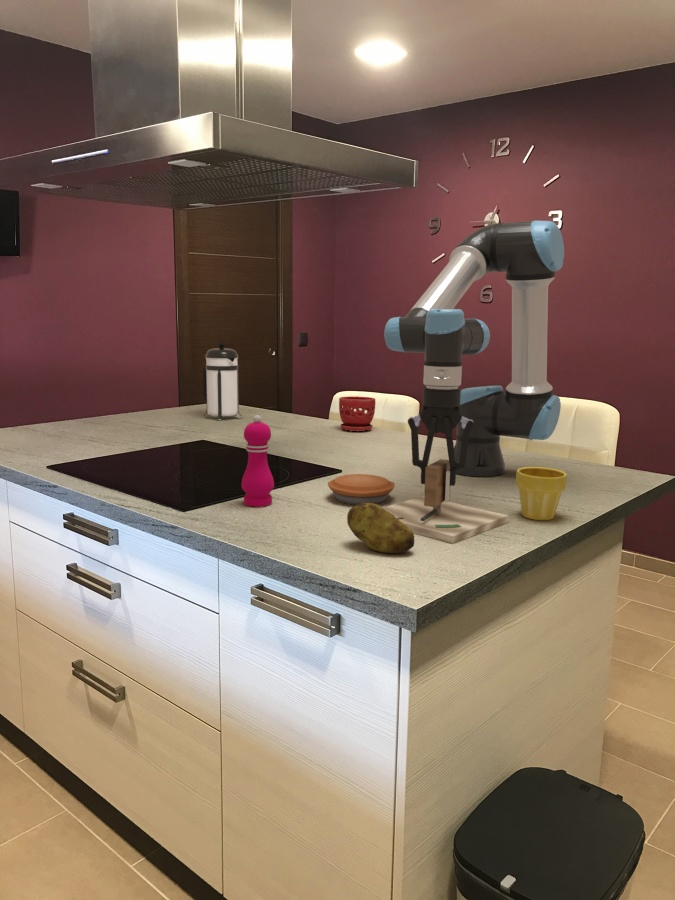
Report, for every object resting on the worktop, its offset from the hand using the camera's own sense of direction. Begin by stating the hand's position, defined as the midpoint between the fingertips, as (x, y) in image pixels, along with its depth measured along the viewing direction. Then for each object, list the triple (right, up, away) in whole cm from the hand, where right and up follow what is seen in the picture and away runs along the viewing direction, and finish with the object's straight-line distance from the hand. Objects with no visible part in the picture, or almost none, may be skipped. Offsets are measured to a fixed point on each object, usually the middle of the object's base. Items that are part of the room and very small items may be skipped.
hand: (437, 499), depth 150 cm
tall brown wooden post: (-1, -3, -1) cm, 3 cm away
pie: (-15, -1, +18) cm, 24 cm away
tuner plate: (0, -4, +1) cm, 5 cm away
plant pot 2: (+22, -4, +6) cm, 23 cm away
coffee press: (-67, +23, +138) cm, 155 cm away
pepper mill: (-39, -2, +13) cm, 41 cm away
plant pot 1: (-14, +17, +113) cm, 115 cm away
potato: (-13, -8, -17) cm, 23 cm away
